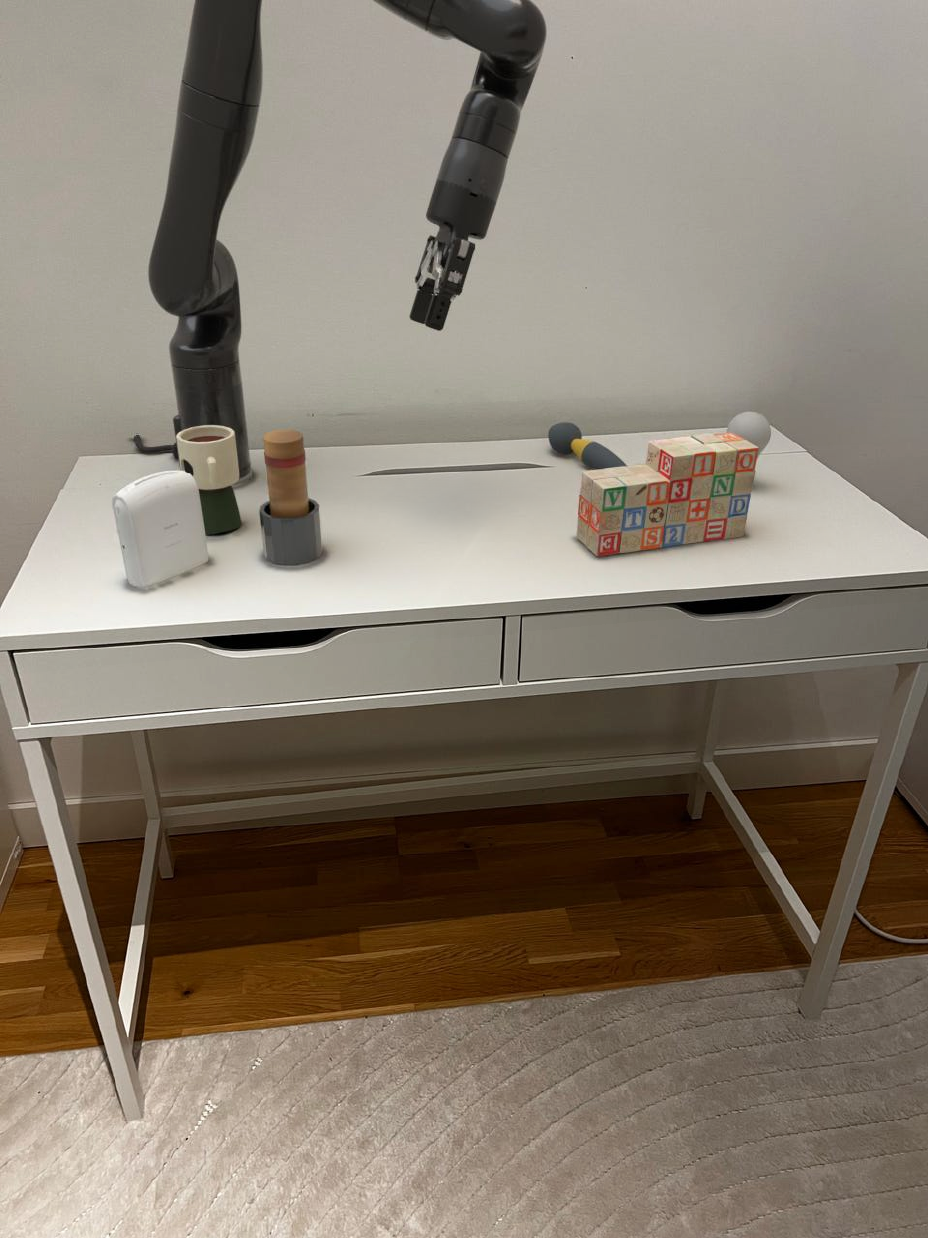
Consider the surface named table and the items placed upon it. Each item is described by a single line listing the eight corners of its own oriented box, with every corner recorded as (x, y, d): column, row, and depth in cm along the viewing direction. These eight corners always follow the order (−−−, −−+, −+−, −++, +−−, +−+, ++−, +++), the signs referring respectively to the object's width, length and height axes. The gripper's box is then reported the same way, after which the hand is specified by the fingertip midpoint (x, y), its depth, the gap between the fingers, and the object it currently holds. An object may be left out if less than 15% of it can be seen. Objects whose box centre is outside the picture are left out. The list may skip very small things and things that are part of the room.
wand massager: (646, 478, 144) (649, 445, 141) (623, 485, 141) (626, 453, 139) (556, 442, 157) (557, 412, 155) (532, 448, 155) (534, 418, 152)
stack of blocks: (596, 558, 120) (604, 464, 114) (575, 538, 125) (582, 447, 119) (745, 536, 126) (760, 445, 120) (719, 517, 132) (732, 430, 125)
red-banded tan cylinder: (267, 557, 119) (254, 440, 111) (284, 542, 123) (274, 427, 115) (302, 563, 117) (292, 444, 110) (319, 547, 121) (310, 431, 114)
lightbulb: (715, 490, 140) (726, 416, 135) (722, 475, 145) (733, 403, 140) (758, 496, 138) (771, 421, 133) (764, 481, 143) (776, 409, 138)
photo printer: (142, 594, 111) (124, 493, 105) (121, 582, 114) (102, 483, 108) (215, 563, 118) (202, 467, 112) (193, 553, 121) (180, 459, 115)
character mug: (185, 516, 130) (172, 423, 124) (239, 510, 133) (228, 417, 126) (194, 550, 122) (180, 451, 115) (251, 542, 124) (240, 444, 117)
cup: (254, 564, 118) (248, 514, 115) (281, 540, 124) (276, 493, 121) (307, 572, 116) (303, 522, 113) (332, 548, 122) (328, 500, 119)
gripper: (424, 179, 119) (384, 310, 124) (453, 174, 107) (408, 320, 111) (479, 202, 122) (439, 329, 126) (514, 199, 109) (467, 341, 114)
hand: (424, 325), depth 119 cm, fingers open, 8 cm apart
